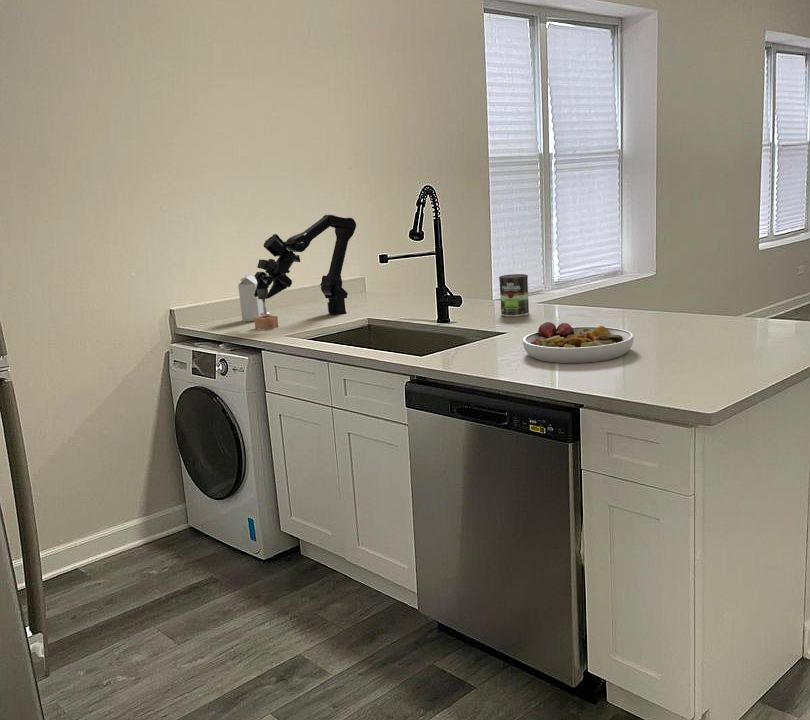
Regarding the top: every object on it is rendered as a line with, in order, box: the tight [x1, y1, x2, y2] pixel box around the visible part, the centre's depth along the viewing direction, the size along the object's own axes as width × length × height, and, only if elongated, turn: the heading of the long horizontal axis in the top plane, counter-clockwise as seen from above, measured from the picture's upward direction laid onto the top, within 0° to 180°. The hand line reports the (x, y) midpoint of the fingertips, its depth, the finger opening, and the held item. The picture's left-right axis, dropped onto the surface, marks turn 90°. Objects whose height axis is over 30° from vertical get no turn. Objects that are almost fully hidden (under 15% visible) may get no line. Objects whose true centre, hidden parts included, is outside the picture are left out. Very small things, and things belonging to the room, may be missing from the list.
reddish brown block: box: [253, 314, 279, 330], centre depth 320 cm, size 6×9×4 cm
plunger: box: [257, 287, 271, 316], centre depth 319 cm, size 4×4×10 cm
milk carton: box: [237, 272, 265, 323], centre depth 341 cm, size 7×7×19 cm
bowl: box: [522, 321, 634, 364], centre depth 234 cm, size 30×30×8 cm
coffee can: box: [498, 273, 530, 318], centre depth 304 cm, size 10×10×14 cm
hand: (261, 296), depth 318 cm, fingers open, 9 cm apart
